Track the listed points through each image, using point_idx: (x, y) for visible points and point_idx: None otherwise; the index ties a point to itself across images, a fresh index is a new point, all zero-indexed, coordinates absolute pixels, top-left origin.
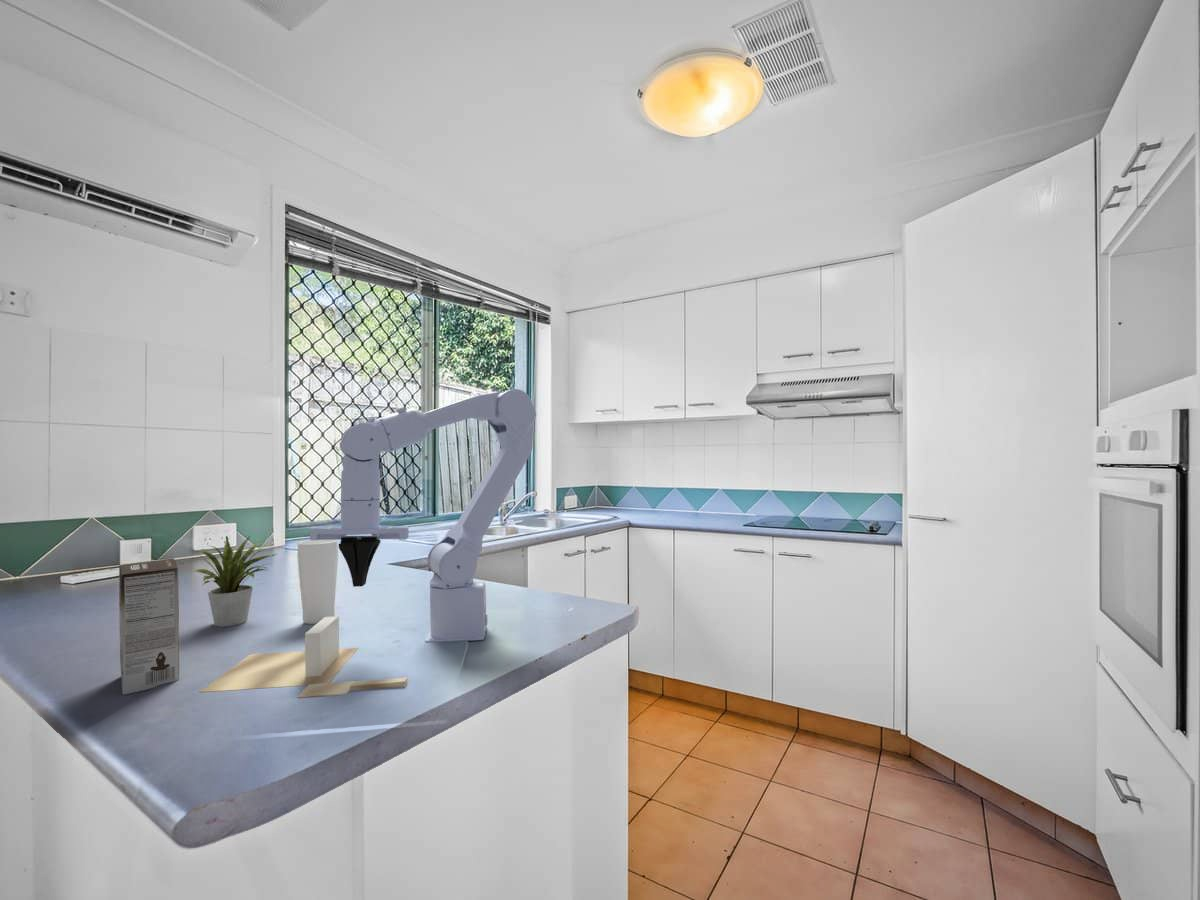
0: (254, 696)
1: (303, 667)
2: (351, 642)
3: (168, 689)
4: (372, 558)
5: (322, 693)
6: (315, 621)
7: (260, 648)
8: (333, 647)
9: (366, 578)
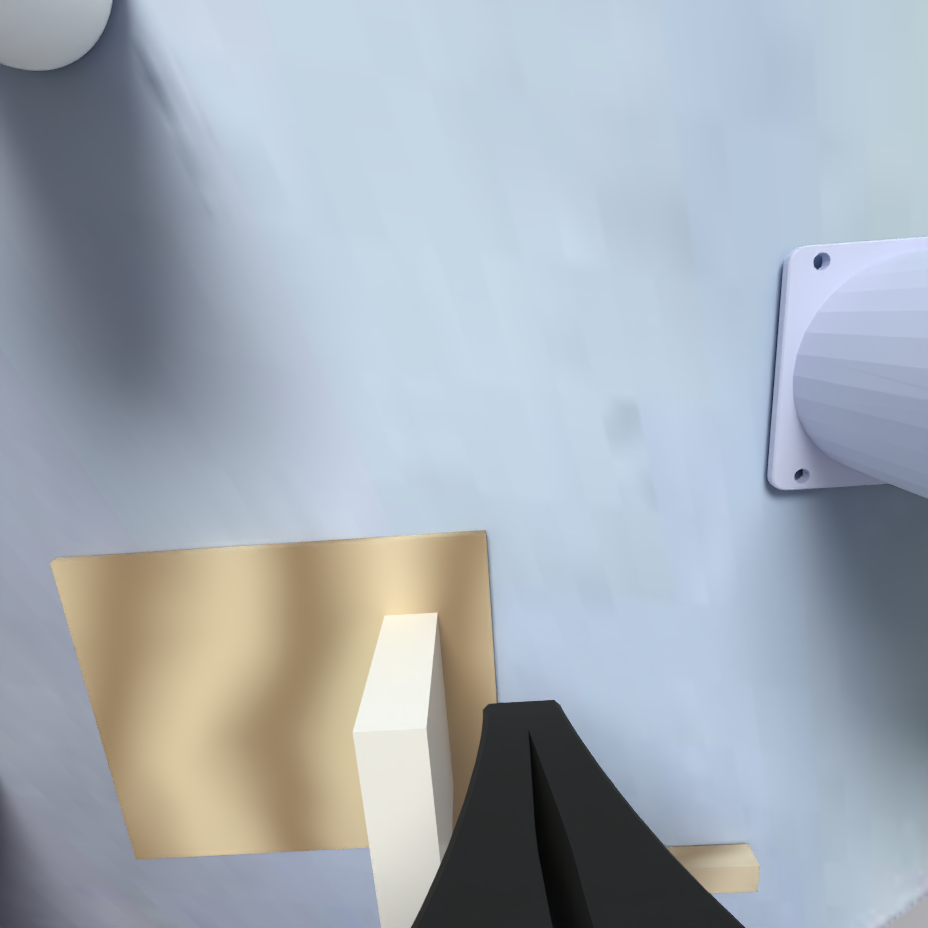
0: (312, 868)
1: (355, 712)
2: (412, 416)
3: (6, 804)
4: (703, 895)
5: None
6: (48, 68)
7: (23, 455)
8: (440, 707)
9: (573, 729)
